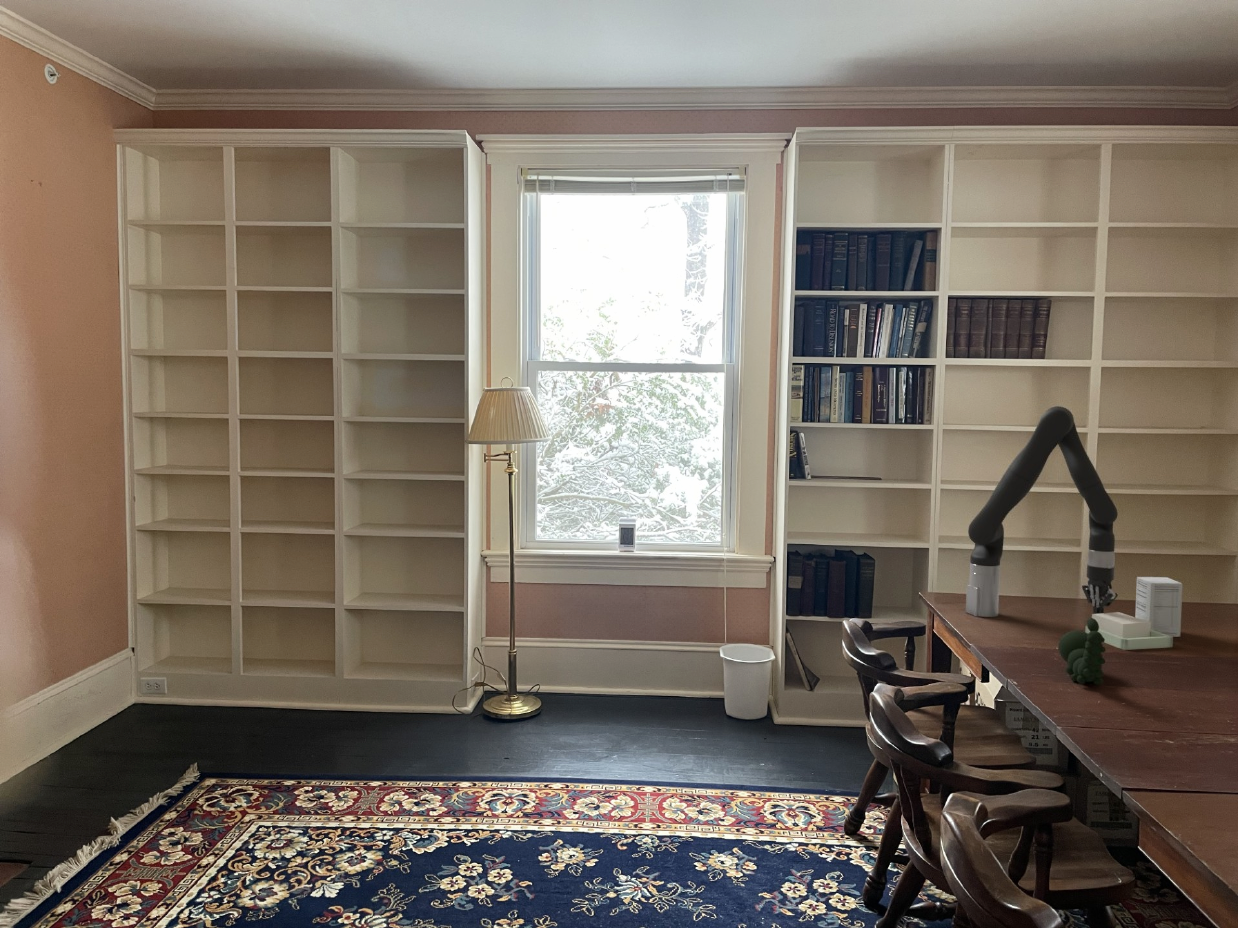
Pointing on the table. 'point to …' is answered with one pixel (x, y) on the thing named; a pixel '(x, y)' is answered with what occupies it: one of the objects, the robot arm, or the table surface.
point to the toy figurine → (1083, 653)
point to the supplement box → (1160, 604)
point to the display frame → (1137, 640)
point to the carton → (1123, 625)
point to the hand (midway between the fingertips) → (1098, 618)
